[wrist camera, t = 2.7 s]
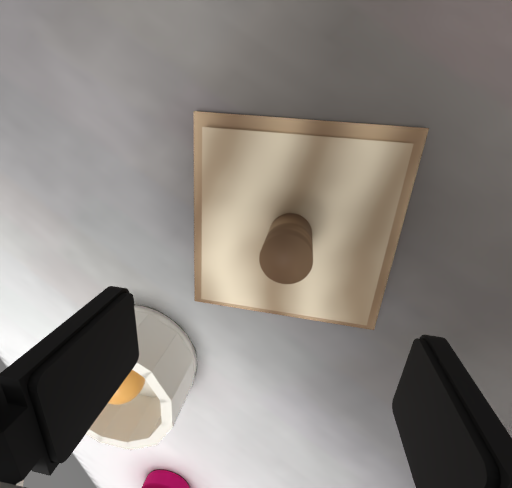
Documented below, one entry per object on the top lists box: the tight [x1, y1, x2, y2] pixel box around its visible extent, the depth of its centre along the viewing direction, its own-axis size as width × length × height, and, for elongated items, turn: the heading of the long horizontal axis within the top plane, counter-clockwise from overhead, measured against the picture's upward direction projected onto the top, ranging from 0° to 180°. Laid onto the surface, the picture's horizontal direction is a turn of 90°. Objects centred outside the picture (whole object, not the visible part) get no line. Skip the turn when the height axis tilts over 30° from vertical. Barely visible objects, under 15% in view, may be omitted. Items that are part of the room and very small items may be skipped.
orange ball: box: [108, 370, 145, 405], centre depth 28 cm, size 4×4×4 cm
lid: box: [201, 127, 413, 326], centre depth 20 cm, size 14×14×6 cm
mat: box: [194, 111, 429, 330], centre depth 23 cm, size 16×16×1 cm
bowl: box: [86, 305, 197, 450], centre depth 28 cm, size 12×12×6 cm
